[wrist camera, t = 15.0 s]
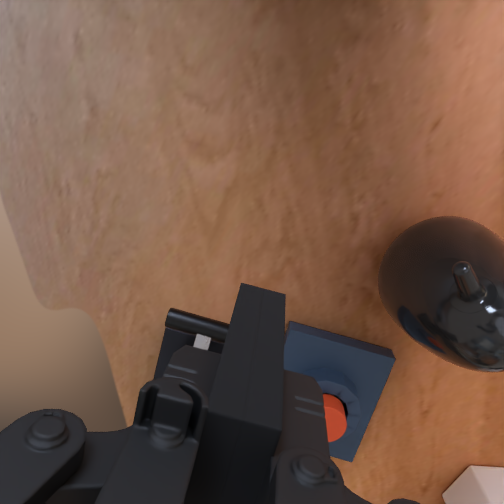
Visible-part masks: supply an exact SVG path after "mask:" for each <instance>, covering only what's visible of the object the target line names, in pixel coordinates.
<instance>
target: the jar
mask: <svg viewBox="0 0 504 504" xmlns="http://www.w3.org/2000/svg"><path fill="white" fill-rule="evenodd" d="M442 497H443V499H444V502H445V504H504V467H489V466H473V465H470V466H469V467H468V468H467V469H466V470H465V471H464V472H463V473H462V474H461V475H460V476H459V477H458V478H457V479H456V480H455V481H454V483H453V484H452V485H451V486H450V487H449V488H448V489H447V490H446V491H445V492H444V493H443V495H442Z"/></svg>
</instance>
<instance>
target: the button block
mask: <svg viewBox="0 0 504 504" xmlns="http://www.w3.org/2000/svg"><path fill="white" fill-rule="evenodd" d="M395 360H396V359H395V357H394V354H393V352H392V350H391V349H387V348H384V347H380V346H377V345H373V344H370V343H366V342H363V341H359V340H356V339H352V338H349V337H345V336H342V335H338V334H335V333H331V332H327V331H324V330H320V329H317V328H313V327H310V326H306V325H303V324H299V323H296V322H292V321H290V322H289V325H288V328H287V331H286V334H285V337H284V369H285V370H289V371H292V372H296V373H300V374H304V375H308V376H311V377H314V378H315V380H316V381H317V383H318V385H319V386H320V388H321V389H322V391H323V394H330V395H333V396H335V397H337V398H338V399H339V400H340V401H341V402H342V404H343V407H344V411H345V416H346V421H347V428H346V431H345V433H344V434H343V435H342V437H340V438H339V439H337V440H335V441H332V442H328V443H329V452H330V456H332V457H335V458H339V459H342V460H346V461H349V462H352V461H353V459H354V456H355V454H356V452H357V449H358V447H359V445H360V442H361V440H362V438H363V435H364V433H365V430H366V428H367V426H368V423H369V421H370V419H371V416H372V414H373V412H374V409H375V407H376V404H377V402H378V400H379V397H380V395H381V393H382V390H383V388H384V386H385V383H386V381H387V378H388V376H389V374H390V371H391V369H392V367H393V364H394V362H395Z"/></svg>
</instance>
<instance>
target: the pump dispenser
mask: <svg viewBox="0 0 504 504" xmlns="http://www.w3.org/2000/svg"><path fill="white" fill-rule="evenodd" d="M378 289H379V294H380V298H381V300H382V303H383V305H384V307H385V309H386V310H387V312H388V314H389V315H390V316H391V318H392V319H393V320H394V322H395V323H396V324H397V325H398V326H399V327H400V328H401V329H402V330H403V331H404V332H405V333H406V334H407V335H408V336H409V337H411V338H412V339H413V340H414V341H415V342H417V343H418V344H419V345H421V346H422V347H424V348H425V349H427V350H428V351H430V352H431V353H433V354H435V355H436V356H438V357H440V358H441V359H443V360H445V361H447V362H449V363H452V364H454V365H456V366H459V367H462V368H465V369H468V370H473V371H478V372H503V371H504V241H503V240H502V239H501V238H500V237H499V236H498V235H496V234H495V233H494V232H493V231H491V230H490V229H488V228H487V227H485V226H483V225H482V224H480V223H478V222H475V221H473V220H470V219H467V218H462V217H456V216H442V217H435V218H431V219H427V220H424V221H421V222H419V223H417V224H415V225H413V226H411V227H410V228H408V229H407V230H405V231H404V232H403V233H401V234H400V235H399V236H398V237H397V238H396V239H395V240H394V241H393V242H392V244H391V245H390V246H389V248H388V249H387V251H386V252H385V254H384V256H383V259H382V261H381V264H380V268H379V272H378Z"/></svg>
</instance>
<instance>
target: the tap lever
mask: <svg viewBox="0 0 504 504" xmlns="http://www.w3.org/2000/svg"><path fill="white" fill-rule="evenodd" d="M229 325H230V324H227V323H224V322H220V321H217V320H213V319H210V318H206V317H202V316H199V315H195V314H192V313H188V312H185V311H181V310H178V309H174V308H170V310H169V312H168V315H167V318H166V322H165V326H166V327H169V328H173V329H176V330H180V331H183V332H187V333H191V334H194V335H196V339H195V342H194V346H193V347H196V348H200V349H204V350H208V348H209V345H210V341H211V339H212V340H215V341H219V342H222V343H225V339H226V336H227V332H228V329H229Z"/></svg>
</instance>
